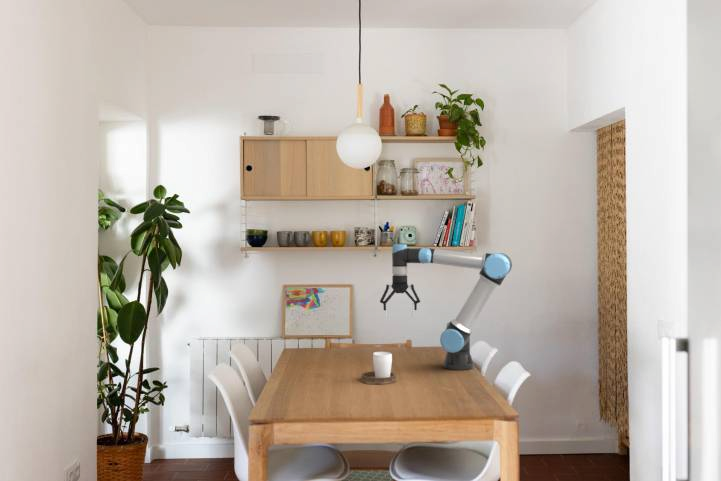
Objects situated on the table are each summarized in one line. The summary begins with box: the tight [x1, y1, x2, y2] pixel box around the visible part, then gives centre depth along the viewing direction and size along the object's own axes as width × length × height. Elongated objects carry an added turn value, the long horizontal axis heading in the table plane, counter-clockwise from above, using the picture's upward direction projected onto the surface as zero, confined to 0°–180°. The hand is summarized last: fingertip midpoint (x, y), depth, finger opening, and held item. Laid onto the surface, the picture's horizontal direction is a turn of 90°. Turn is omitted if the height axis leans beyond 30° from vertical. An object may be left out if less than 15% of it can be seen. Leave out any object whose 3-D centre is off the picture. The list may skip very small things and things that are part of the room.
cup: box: [372, 351, 393, 378], centre depth 313 cm, size 9×9×12 cm
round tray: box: [360, 370, 398, 386], centre depth 313 cm, size 17×17×3 cm
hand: (400, 316), depth 338 cm, fingers open, 13 cm apart
